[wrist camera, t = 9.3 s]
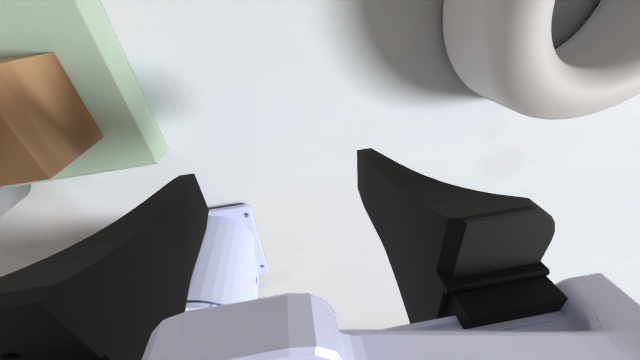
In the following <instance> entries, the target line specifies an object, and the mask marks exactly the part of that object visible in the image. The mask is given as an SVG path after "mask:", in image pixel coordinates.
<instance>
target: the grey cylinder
mask: <svg viewBox="0 0 640 360" xmlns="http://www.w3.org/2000/svg"><path fill="white" fill-rule="evenodd" d="M30 188H31V184H26V185H19V186H13V187H6V188H4V187H0V216H2V215H3V214H4V213H5V212H7V211H8V210H9V209H11V208H12V207H13V206H14V205H16V204H17V203H18V202H19V201H21V200H22V199H23V198H25V197H26V196H27V195H28V193H29V192H30Z"/></svg>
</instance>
